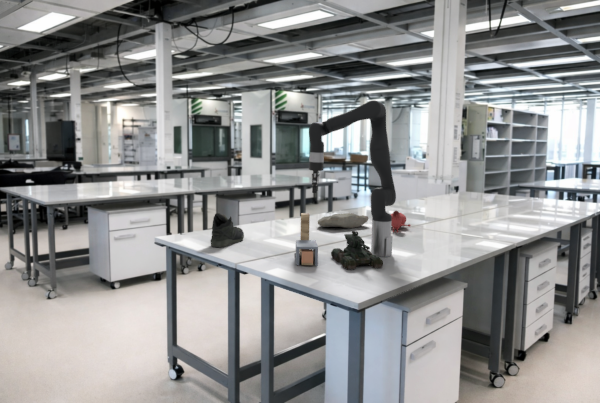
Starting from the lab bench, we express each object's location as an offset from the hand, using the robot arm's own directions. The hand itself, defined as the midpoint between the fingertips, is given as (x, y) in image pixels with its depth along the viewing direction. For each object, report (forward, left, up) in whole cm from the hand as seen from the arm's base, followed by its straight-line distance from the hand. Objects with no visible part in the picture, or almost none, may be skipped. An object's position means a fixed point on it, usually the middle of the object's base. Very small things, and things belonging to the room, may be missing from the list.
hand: (314, 192), depth 250 cm
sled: (-15, +28, -27) cm, 42 cm away
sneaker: (+38, +26, -29) cm, 54 cm away
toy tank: (-36, +17, -29) cm, 49 cm away
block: (-22, +36, -27) cm, 50 cm away
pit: (-11, +23, -28) cm, 38 cm away
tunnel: (-18, +31, -28) cm, 46 cm away
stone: (+17, -53, -29) cm, 63 cm away
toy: (-12, -73, -28) cm, 79 cm away
